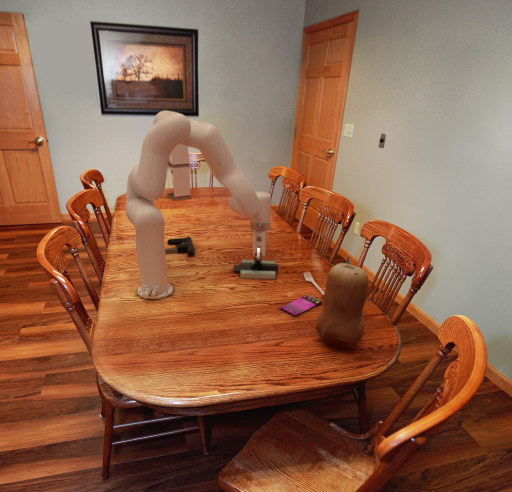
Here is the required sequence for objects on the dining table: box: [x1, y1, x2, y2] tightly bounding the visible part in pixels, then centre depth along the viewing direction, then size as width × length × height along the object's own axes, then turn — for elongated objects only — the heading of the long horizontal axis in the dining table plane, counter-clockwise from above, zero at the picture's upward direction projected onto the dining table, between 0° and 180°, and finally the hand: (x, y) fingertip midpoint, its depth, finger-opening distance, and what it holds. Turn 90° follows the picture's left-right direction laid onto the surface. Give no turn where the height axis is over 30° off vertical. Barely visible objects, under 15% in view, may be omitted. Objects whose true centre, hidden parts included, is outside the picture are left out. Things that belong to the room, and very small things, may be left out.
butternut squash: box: [315, 262, 369, 348], centre depth 115 cm, size 14×13×25 cm
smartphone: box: [279, 293, 323, 317], centre depth 141 cm, size 7×15×1 cm, turn 134°
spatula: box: [233, 263, 279, 274], centre depth 164 cm, size 18×6×3 cm, turn 90°
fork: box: [303, 271, 325, 296], centre depth 155 cm, size 3×20×2 cm, turn 16°
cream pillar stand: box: [166, 144, 192, 201], centre depth 253 cm, size 11×11×35 cm
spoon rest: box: [239, 259, 276, 280], centre depth 165 cm, size 14×14×2 cm
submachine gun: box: [165, 236, 197, 257], centre depth 182 cm, size 3×20×16 cm
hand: (257, 268), depth 165 cm, fingers open, 5 cm apart
